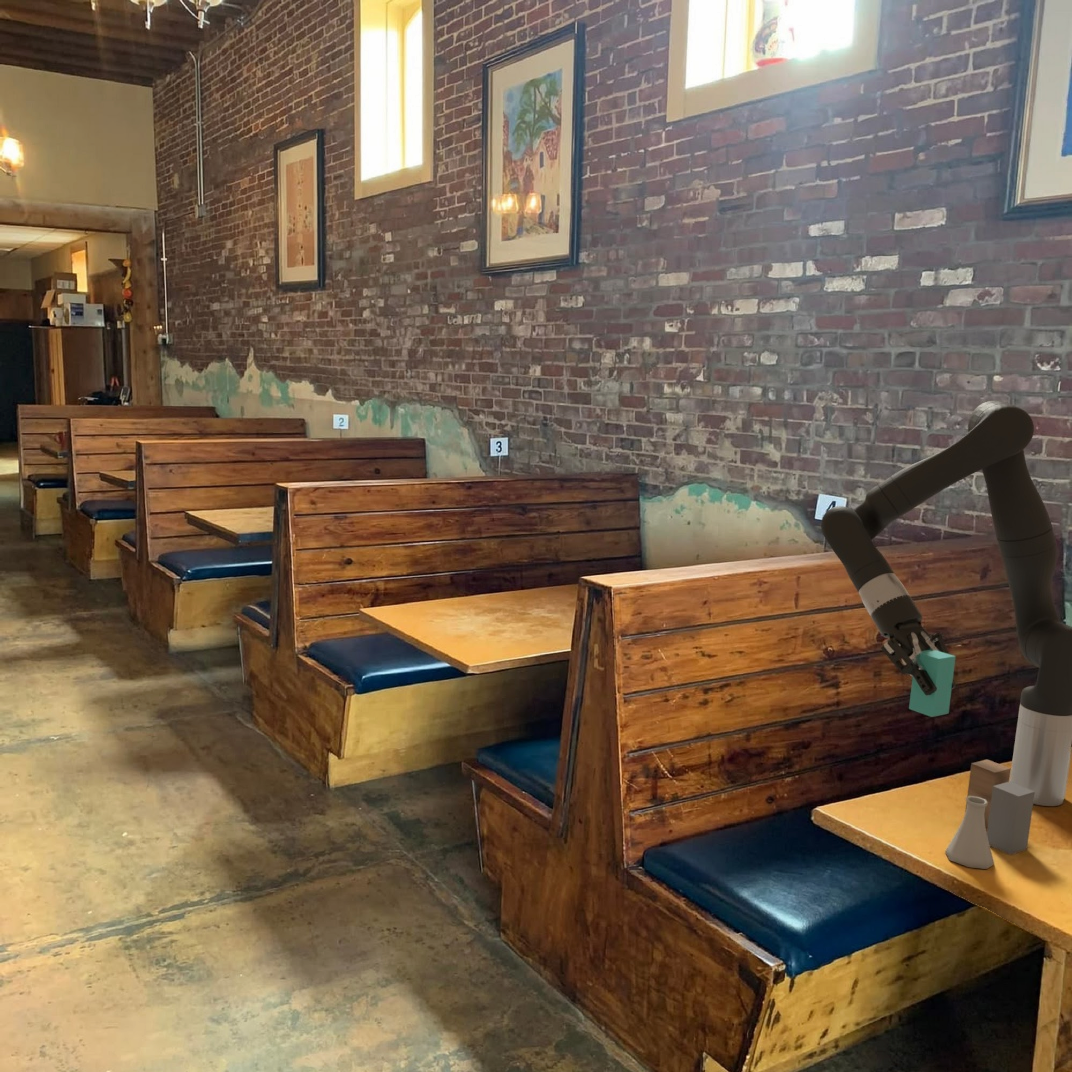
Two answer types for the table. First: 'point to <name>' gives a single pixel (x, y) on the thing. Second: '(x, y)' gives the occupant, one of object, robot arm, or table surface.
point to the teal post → (942, 677)
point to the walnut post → (986, 781)
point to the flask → (972, 837)
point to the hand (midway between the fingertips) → (941, 690)
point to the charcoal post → (1010, 817)
